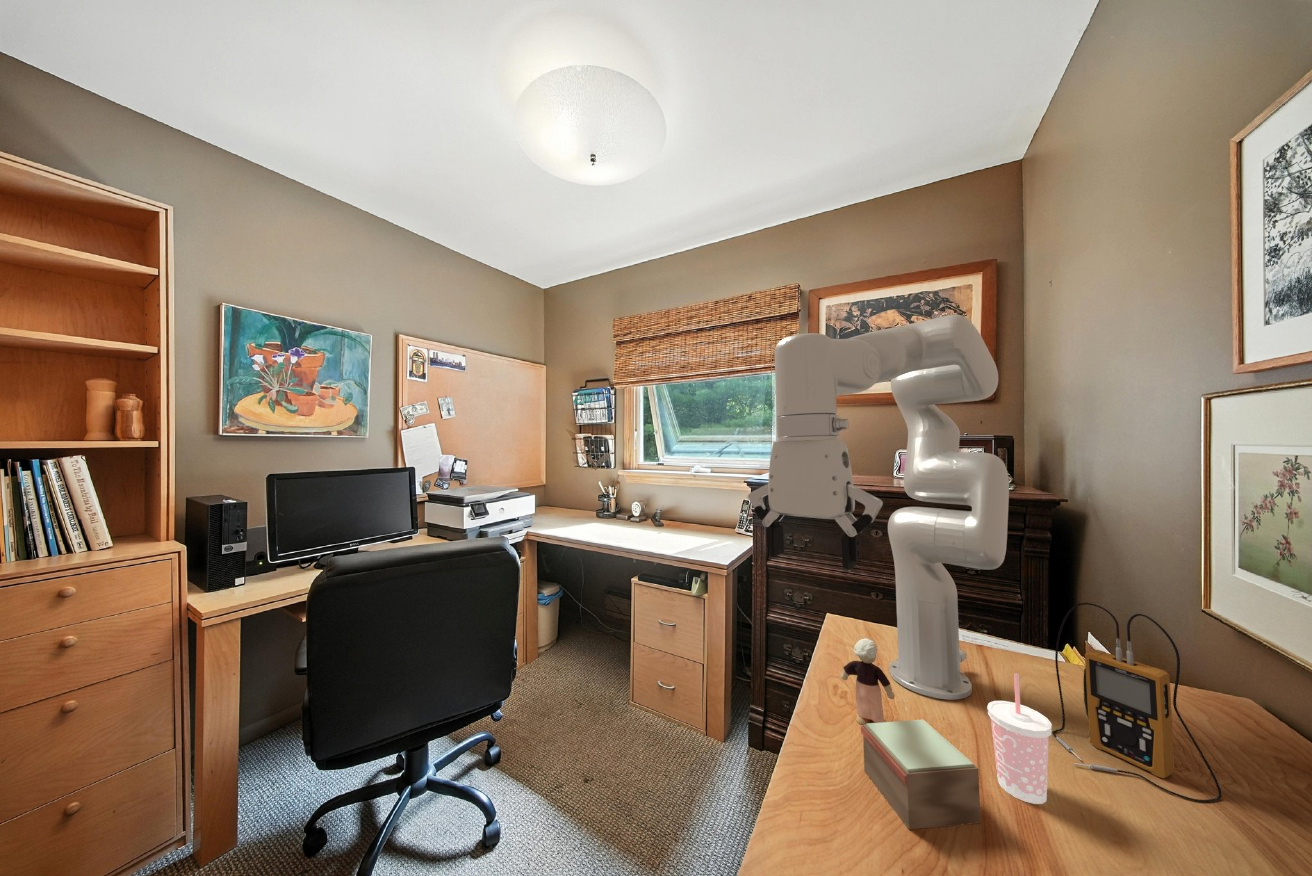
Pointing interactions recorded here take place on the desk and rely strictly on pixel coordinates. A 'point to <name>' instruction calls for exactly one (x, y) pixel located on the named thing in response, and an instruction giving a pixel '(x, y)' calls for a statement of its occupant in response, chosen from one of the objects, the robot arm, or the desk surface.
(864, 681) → the grandmother figurine
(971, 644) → the desk surface
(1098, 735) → the multimeter
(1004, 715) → the beverage cup
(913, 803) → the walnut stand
